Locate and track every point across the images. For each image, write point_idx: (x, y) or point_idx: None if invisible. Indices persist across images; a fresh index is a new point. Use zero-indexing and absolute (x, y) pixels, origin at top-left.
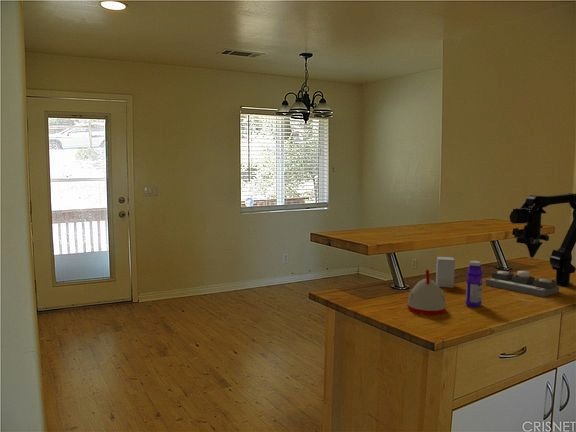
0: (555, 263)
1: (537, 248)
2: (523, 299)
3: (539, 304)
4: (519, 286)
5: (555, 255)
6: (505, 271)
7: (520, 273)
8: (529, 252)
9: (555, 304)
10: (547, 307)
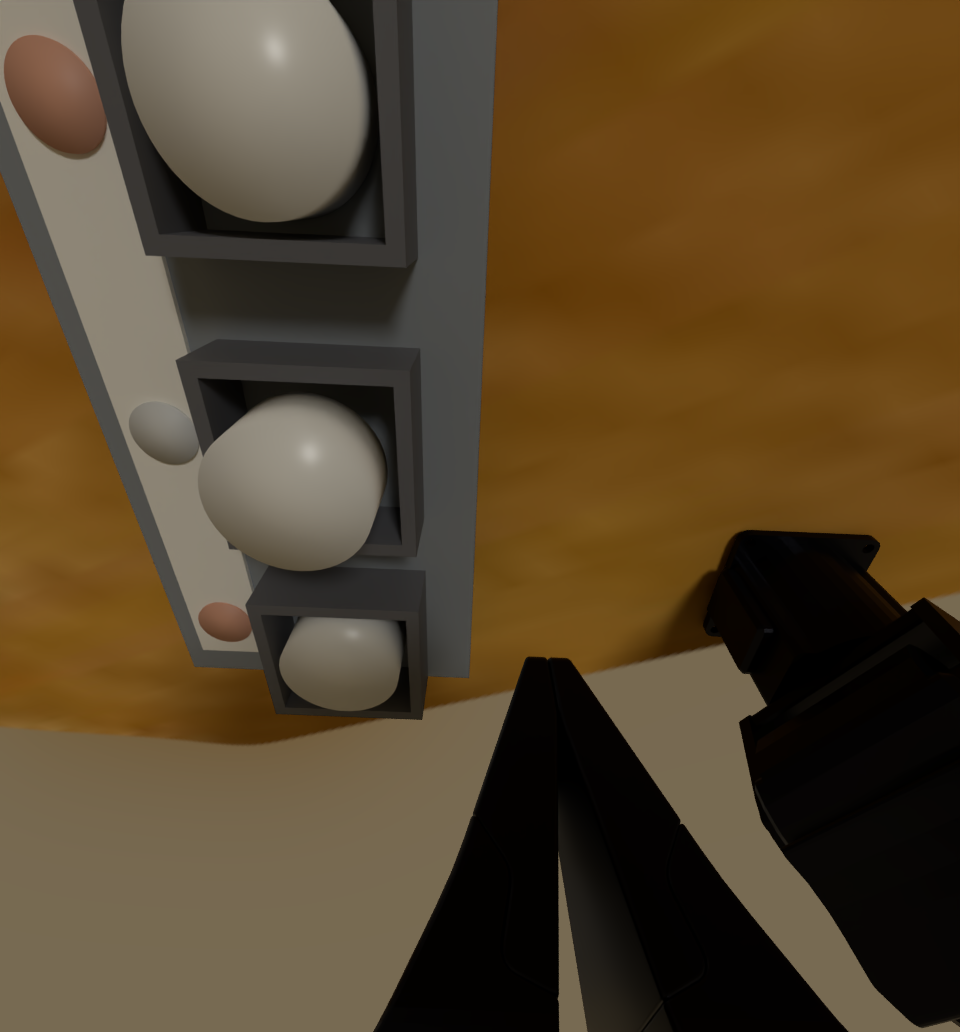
0: (813, 746)
1: (587, 1014)
2: (3, 574)
3: (26, 670)
4: (126, 489)
5: (953, 859)
6: (351, 89)
7: (207, 487)
8: (495, 760)
9: (133, 714)
10: (26, 710)
